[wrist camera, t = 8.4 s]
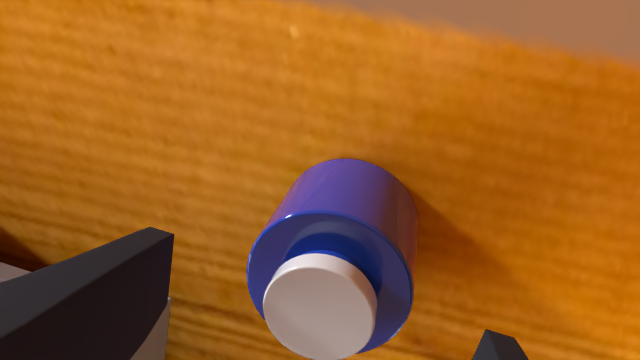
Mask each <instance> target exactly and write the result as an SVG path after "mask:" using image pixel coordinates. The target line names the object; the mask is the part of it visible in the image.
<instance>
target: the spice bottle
mask: <svg viewBox="0 0 640 360" xmlns="http://www.w3.org/2000/svg"><path fill="white" fill-rule="evenodd" d="M418 229H419V222H418V214H417V210H416V207H415V204H414V201H413V199H412V198H411V196H410V194H409V192H408V191H407V190H406V188H405V187H404V186H403V184H402V183H401V182H400V181H399V180H398V179H397V178H395V177H394V176H393V175H392V174H390V173H389V172H387V171H386V170H384V169H383V168H381V167H378V166H376V165H374V164H371V163H368V162H365V161H361V160H355V159H335V160H330V161H326V162H323V163H320V164H317V165H315V166H313V167H311V168H310V169H308V170H307V171H305V172H304V173H303V174H302V175H301V176H300V177H298V179H297V180H296V181H295V182H294V183H293V185H292V186H291V188H290V189H289V191H288V192H287V194H286V195H285V197H284V198H283V200H282V201H281V203H280V204H279V206H278V207H277V209H276V210H275V212H274V213H273V215H272V216H271V218H270V219H269V221H268V222H267V224H266V225H265V227H264V228H263V230H262V231H261V233H260V234H259V236H258V237H257V239H256V241H255V242H254V244H253V246H252V248H251V251H250V253H249V257H248V261H247V271H246V273H247V284H248V288H249V293H250V295H251V298H252V301H253V303H254V305H255V307H256V308H257V310H258V312H259V313H260V315H261V316H262V317H263V319H264V320H265V321H266V323H267V325H268V327H269V329H270V331H271V332H272V334H273V335H274V336H275V337H276V339H277V340H278V341H279V342H280V343H281V344H282V345H284V346H285V347H286V348H288V349H289V350H291V351H293V352H294V353H296V354H298V355H300V356H303V357H306V358H309V359H313V360H341V359H345V358H348V357H350V356H352V355H354V354H359V353H363V352H366V351H370V350H372V349H375V348H377V347H379V346H381V345H383V344H384V343H386V342H387V341H389V340H390V339H391V338H392V337H393V336H395V335H396V334H397V333H398V331H399V330H400V329H401V328H402V327H403V325H404V324H405V322H406V320H407V319H408V317H409V314H410V312H411V309H412V305H413V301H414V287H415V272H416V258H417V243H418Z"/></svg>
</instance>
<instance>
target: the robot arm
mask: <svg viewBox="0 0 640 360" xmlns="http://www.w3.org/2000/svg"><path fill="white" fill-rule="evenodd" d="M173 243H174V234H172V233H169V232H166V231H162V230H159V229H156V228H153V227H148V228H145V229H142V230H139V231H137V232H134V233H132V234H129V235H127V236H124V237H122V238H119V239H117V240H115V241H112V242H110V243H107V244H105V245H102V246H100V247H97V248H95V249H92V250H90V251H87V252H85V253H82V254H80V255H77V256H75V257H72V258H70V259H67V260H65V261H62V262H59V263H56V264H53V265H50V266H48V267H45V268H42V269H39V270H36V271H33V272H31V273H28V274H25V275H22V276H19V277H16V278H13V279H10V280H7V281H3V282H0V360H130V359H131V358H132V356H133V355H134V354H135V353H136V352H137V350H138V349H139V348H140V346H141V345H142V344H143V343H144V341H145V340H146V338H147V337H148V335H149V334H150V332H151V330H152V329H153V327H154V326H155V324H156V322H157V321H158V319H159V317H160V316H161V314H162V312H163V311H164V309H165V307H166V306H167V303H168V293H169V283H170V273H171V263H172V253H173ZM472 360H528V358H527V356H526V355H525V353H524V352H523V350H522V349H521V347H520V346H519V344H518V343H517V341H516V340H515V338H513V337H510V336H507V335H504V334H500V333H497V332H494V331H491V330H487V329H486V330H485V332H484V334H483V336H482V338H481V341H480V343H479V345H478V347H477V349H476V352H475V354H474V356H473V358H472Z"/></svg>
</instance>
